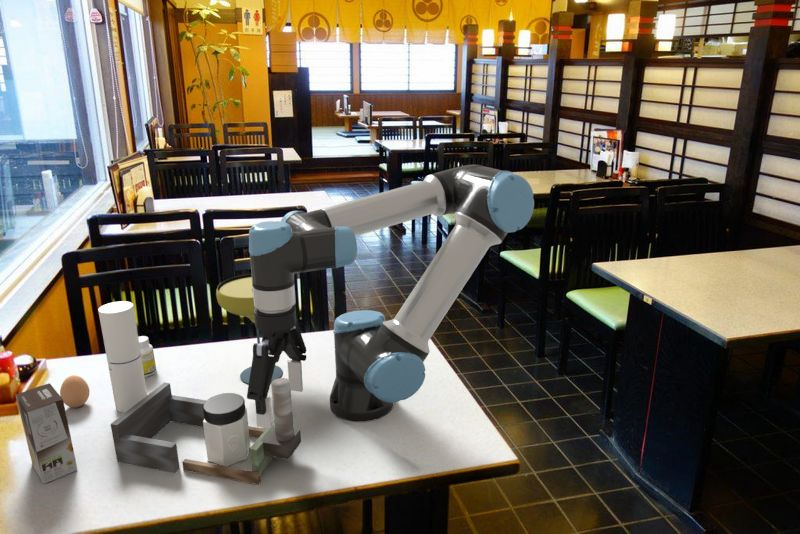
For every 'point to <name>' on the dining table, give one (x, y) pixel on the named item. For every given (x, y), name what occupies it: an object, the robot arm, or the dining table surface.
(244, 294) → the cocktail glass
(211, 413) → the jar
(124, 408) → the cylindrical container
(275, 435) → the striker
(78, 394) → the egg
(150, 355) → the supplement bottle
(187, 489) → the dining table surface
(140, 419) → the lane
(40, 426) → the coffee box
